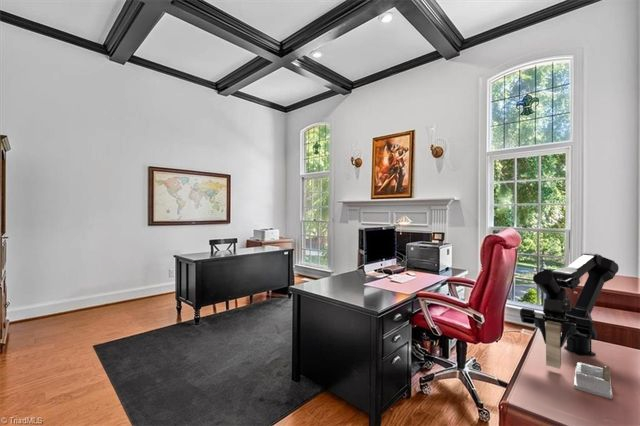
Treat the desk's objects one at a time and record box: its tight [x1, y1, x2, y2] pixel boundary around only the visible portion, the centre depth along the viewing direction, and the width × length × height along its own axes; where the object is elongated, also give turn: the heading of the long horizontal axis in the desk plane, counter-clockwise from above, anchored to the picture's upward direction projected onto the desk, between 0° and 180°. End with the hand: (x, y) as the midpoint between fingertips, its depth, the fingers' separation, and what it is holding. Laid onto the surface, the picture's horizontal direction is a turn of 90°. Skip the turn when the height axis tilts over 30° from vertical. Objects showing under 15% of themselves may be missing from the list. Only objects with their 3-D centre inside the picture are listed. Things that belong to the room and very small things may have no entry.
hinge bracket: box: [573, 361, 613, 400], centre depth 90 cm, size 14×8×5 cm, turn 138°
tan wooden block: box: [545, 321, 562, 370], centre depth 97 cm, size 4×4×13 cm
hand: (553, 345), depth 96 cm, fingers closed on tan wooden block, 3 cm apart
